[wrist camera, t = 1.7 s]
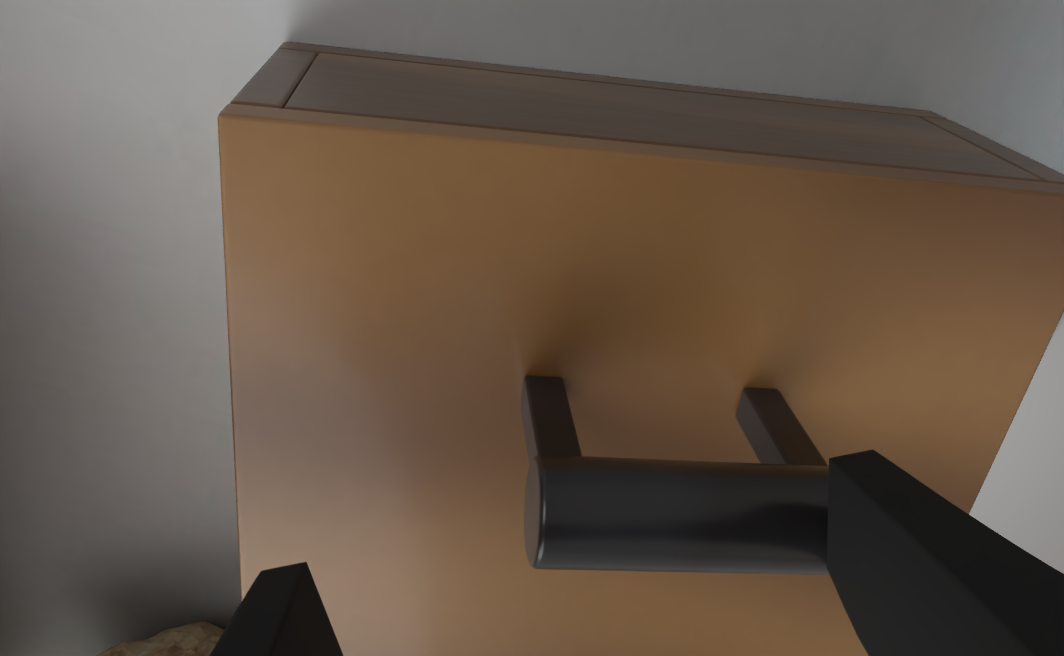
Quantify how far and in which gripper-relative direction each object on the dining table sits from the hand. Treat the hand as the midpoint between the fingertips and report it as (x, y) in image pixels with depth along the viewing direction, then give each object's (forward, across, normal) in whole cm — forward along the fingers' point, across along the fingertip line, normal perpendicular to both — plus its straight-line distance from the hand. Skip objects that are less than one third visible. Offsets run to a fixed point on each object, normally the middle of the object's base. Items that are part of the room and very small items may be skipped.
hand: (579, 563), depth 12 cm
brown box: (+5, -1, +2) cm, 5 cm away
